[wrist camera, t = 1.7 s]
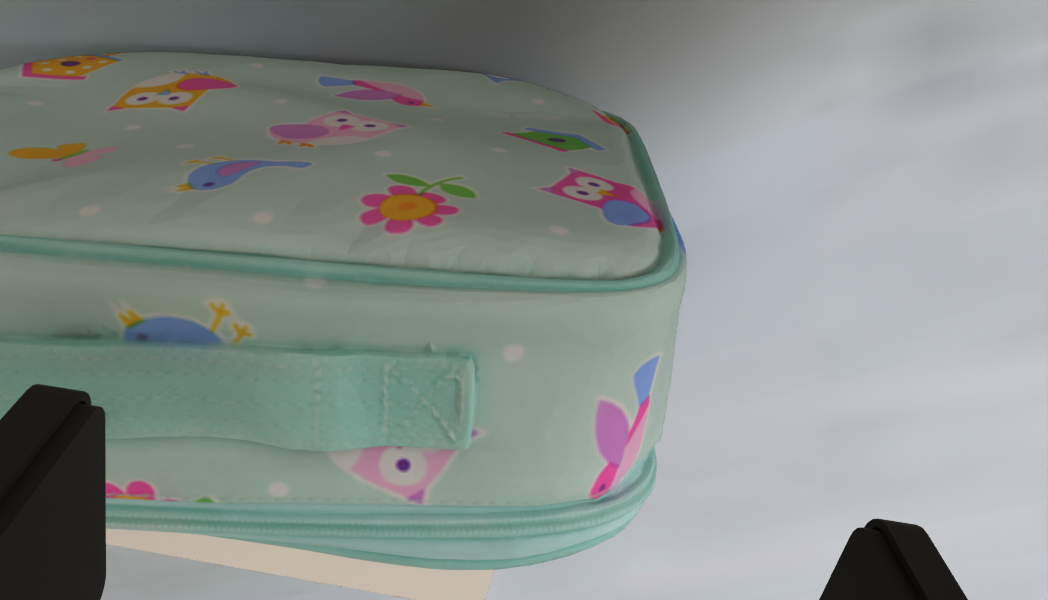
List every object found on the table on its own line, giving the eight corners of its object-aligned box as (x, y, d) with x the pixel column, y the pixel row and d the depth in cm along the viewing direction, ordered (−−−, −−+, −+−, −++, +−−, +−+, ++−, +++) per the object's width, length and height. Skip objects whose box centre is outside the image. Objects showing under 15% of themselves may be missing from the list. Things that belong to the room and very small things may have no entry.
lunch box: (32, 256, 41) (-393, 615, 22) (-15, 25, 36) (-609, 224, 17) (608, 288, 42) (690, 657, 23) (636, 69, 37) (768, 300, 18)
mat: (12, 221, 40) (9, 224, 39) (566, 345, 43) (567, 348, 43) (12, 522, 48) (9, 526, 47) (481, 607, 51) (480, 611, 51)
